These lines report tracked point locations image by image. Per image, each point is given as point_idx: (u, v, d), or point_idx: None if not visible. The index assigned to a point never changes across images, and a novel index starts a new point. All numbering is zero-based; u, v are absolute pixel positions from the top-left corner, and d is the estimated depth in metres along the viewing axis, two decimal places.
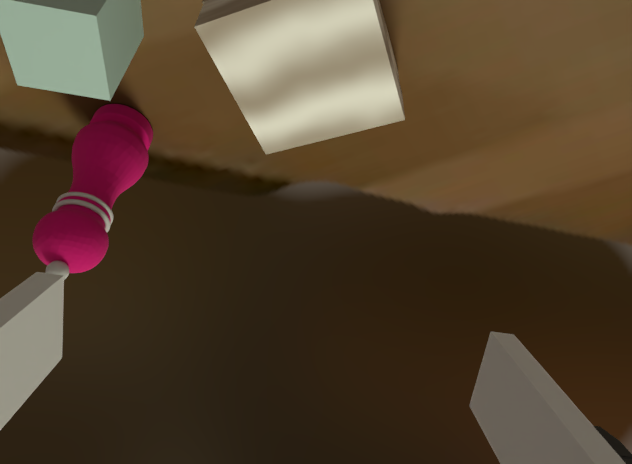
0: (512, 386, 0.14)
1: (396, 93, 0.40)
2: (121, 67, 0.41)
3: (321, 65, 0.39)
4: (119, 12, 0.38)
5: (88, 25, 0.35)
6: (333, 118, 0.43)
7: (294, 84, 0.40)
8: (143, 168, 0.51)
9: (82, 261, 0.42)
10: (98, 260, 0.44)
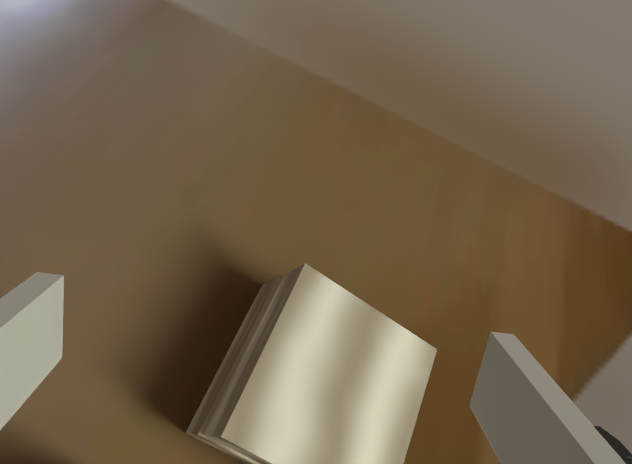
0: (512, 386, 0.14)
1: (410, 333, 0.39)
2: None
3: (344, 364, 0.36)
4: None
5: None
6: (396, 407, 0.36)
7: (341, 406, 0.35)
8: None
9: None
10: None
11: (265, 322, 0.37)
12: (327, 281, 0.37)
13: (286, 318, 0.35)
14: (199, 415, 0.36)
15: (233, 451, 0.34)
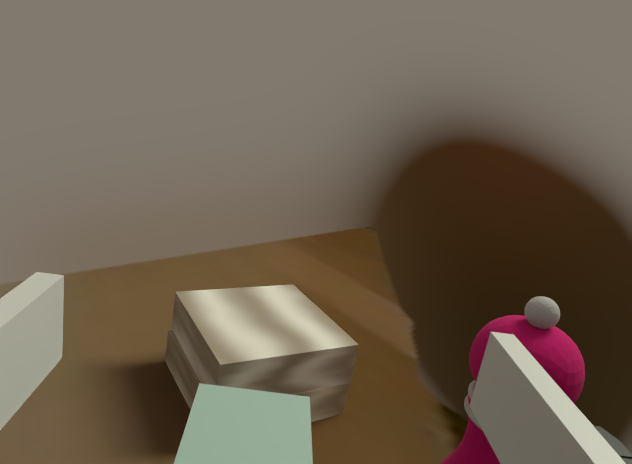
0: (512, 386, 0.14)
1: (270, 286, 0.54)
2: None
3: (251, 310, 0.47)
4: None
5: (211, 391, 0.31)
6: (301, 309, 0.49)
7: (272, 323, 0.46)
8: None
9: (518, 315, 0.29)
10: None
11: (185, 339, 0.45)
12: (197, 291, 0.49)
13: (194, 312, 0.45)
14: None
15: None
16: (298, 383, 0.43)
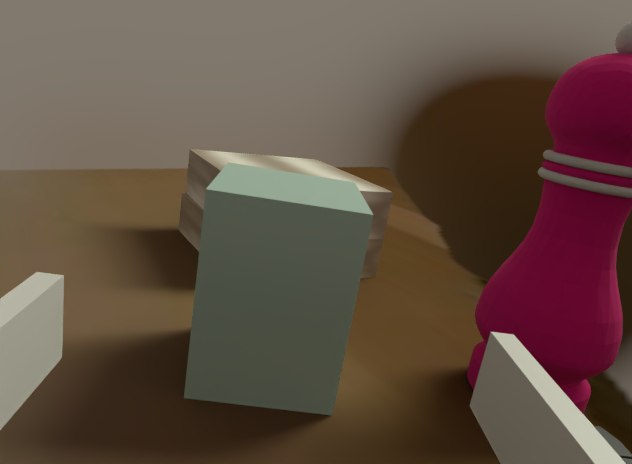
0: (512, 386, 0.14)
1: None
2: None
3: (273, 165, 0.43)
4: None
5: (242, 166, 0.26)
6: (327, 171, 0.45)
7: None
8: None
9: None
10: None
11: (201, 190, 0.41)
12: (214, 151, 0.45)
13: (210, 159, 0.41)
14: None
15: None
16: None
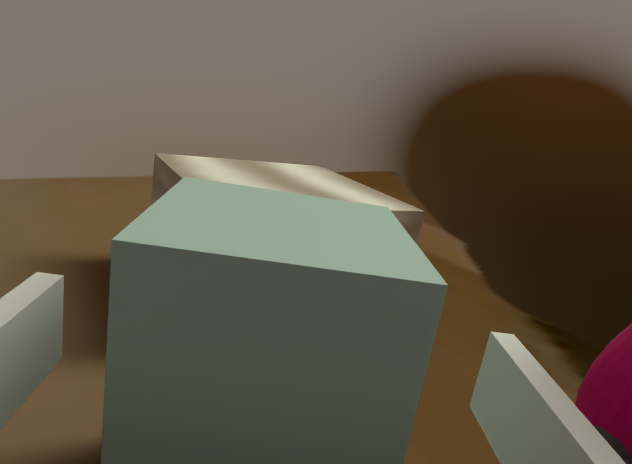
0: (512, 386, 0.14)
1: (290, 164, 0.39)
2: None
3: (263, 174, 0.33)
4: None
5: (207, 184, 0.16)
6: (335, 181, 0.34)
7: (294, 185, 0.31)
8: None
9: None
10: None
11: None
12: (187, 156, 0.35)
13: (178, 166, 0.30)
14: None
15: None
16: None
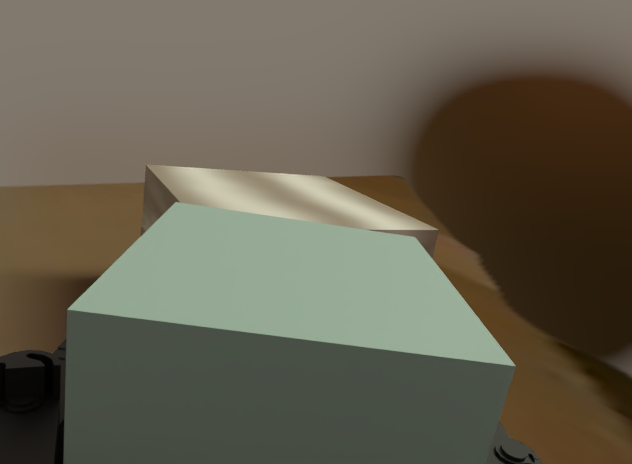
0: None
1: (291, 174, 0.36)
2: None
3: (263, 188, 0.30)
4: None
5: (202, 212, 0.14)
6: (340, 194, 0.32)
7: (296, 200, 0.28)
8: None
9: None
10: None
11: None
12: (181, 167, 0.32)
13: (170, 181, 0.28)
14: None
15: None
16: None
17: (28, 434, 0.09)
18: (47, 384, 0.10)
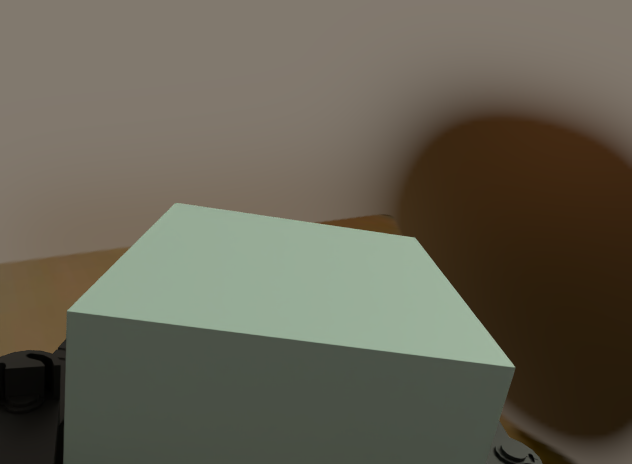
0: None
1: None
2: None
3: None
4: None
5: (201, 213, 0.14)
6: None
7: None
8: None
9: None
10: None
11: None
12: None
13: None
14: None
15: None
16: None
17: (28, 434, 0.09)
18: (47, 384, 0.10)
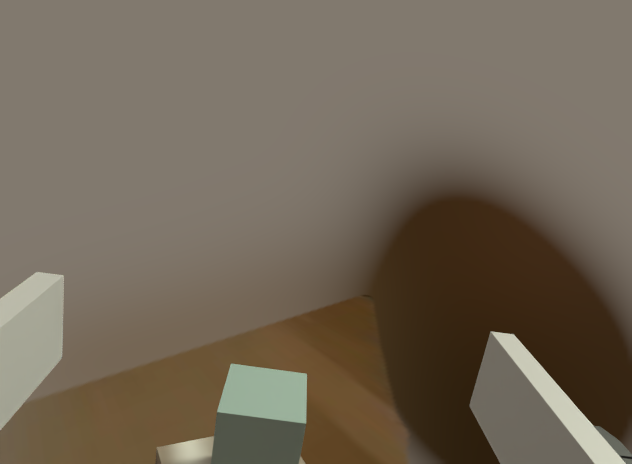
0: (512, 386, 0.14)
1: None
2: None
3: None
4: None
5: (239, 369, 0.45)
6: None
7: None
8: None
9: None
10: None
11: None
12: (180, 444, 0.49)
13: None
14: None
15: None
16: None
17: None
18: None
